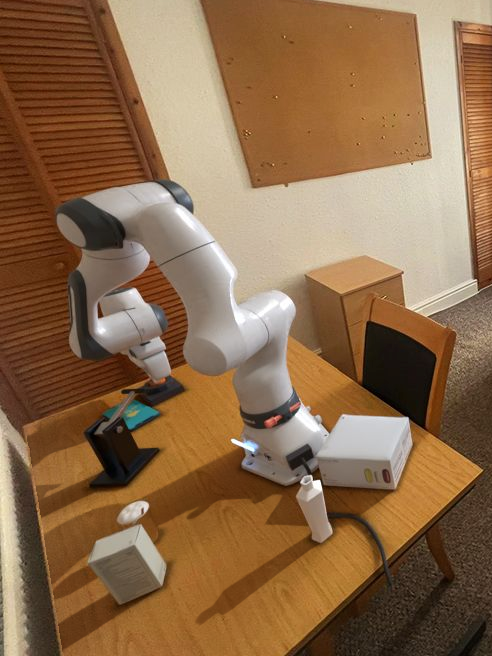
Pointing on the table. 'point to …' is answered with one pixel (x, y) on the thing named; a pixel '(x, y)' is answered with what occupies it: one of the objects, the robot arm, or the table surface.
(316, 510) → the perfume bottle
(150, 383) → the button
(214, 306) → the robot arm
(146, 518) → the milkshake
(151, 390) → the control box
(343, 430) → the supplement box
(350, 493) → the table surface
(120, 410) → the lever
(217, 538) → the table surface
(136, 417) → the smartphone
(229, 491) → the table surface
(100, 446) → the bracket
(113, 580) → the cosmetic box
